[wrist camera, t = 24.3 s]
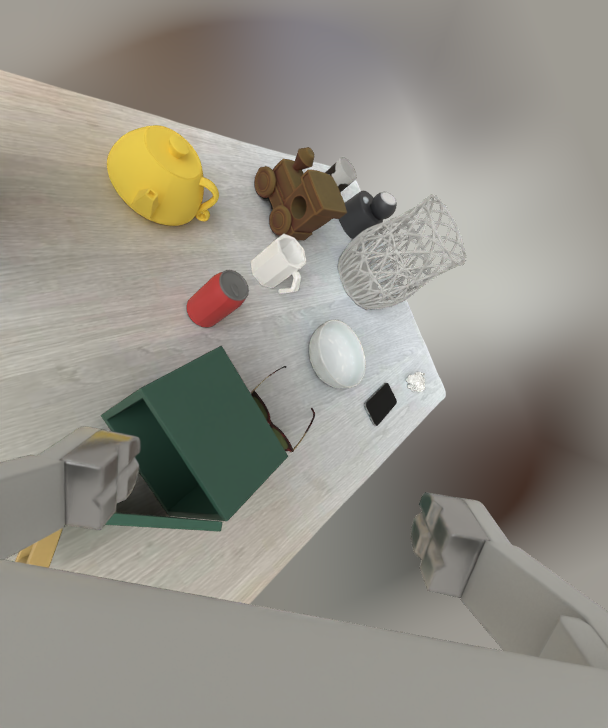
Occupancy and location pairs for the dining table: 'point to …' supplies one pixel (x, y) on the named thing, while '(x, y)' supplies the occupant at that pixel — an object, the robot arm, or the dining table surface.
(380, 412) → the smartphone
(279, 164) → the wooden toy train
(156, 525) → the door
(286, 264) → the mug
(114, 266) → the dining table surface
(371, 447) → the dining table surface
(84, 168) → the dining table surface
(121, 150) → the teapot
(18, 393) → the dining table surface
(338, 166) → the cup
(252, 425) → the cupboard
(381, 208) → the light fixture
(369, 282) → the vase
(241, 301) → the beer can
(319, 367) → the cereal bowl
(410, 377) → the elephant figurine
